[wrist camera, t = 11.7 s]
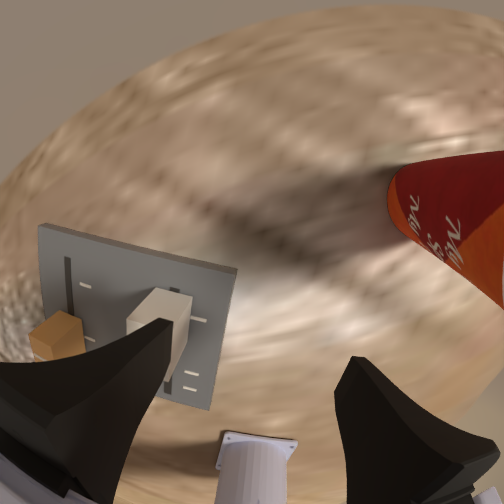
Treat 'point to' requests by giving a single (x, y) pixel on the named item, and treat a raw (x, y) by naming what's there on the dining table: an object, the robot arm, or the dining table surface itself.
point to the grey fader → (166, 308)
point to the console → (137, 299)
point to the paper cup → (456, 214)
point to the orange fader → (57, 338)
